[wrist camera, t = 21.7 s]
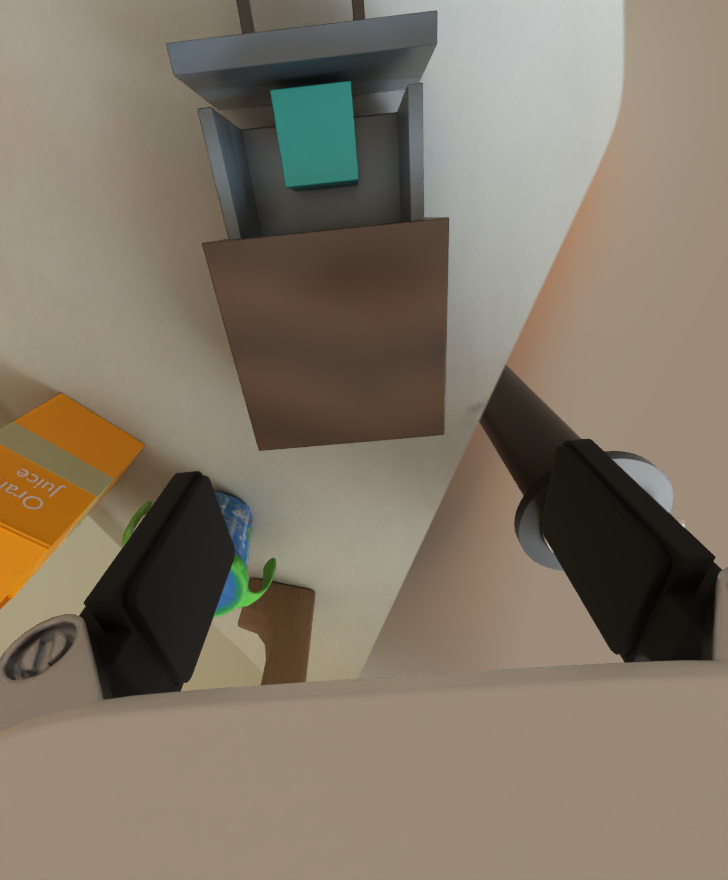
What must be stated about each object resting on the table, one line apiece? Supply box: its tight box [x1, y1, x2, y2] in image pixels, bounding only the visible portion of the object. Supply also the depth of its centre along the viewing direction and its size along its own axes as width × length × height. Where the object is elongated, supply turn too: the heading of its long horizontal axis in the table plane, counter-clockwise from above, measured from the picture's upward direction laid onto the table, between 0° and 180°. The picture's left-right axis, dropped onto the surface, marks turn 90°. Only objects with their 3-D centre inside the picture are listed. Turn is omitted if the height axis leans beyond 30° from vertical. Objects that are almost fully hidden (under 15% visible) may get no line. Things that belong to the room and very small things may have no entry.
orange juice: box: [0, 393, 145, 609], centre depth 31 cm, size 8×9×20 cm
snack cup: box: [122, 491, 276, 617], centre depth 40 cm, size 16×11×10 cm
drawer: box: [166, 0, 437, 240], centre depth 23 cm, size 19×13×7 cm
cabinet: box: [202, 217, 449, 451], centre depth 30 cm, size 15×15×9 cm
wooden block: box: [238, 579, 315, 685], centre depth 44 cm, size 9×4×18 cm, turn 71°
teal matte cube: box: [270, 81, 359, 192], centre depth 24 cm, size 4×4×4 cm
